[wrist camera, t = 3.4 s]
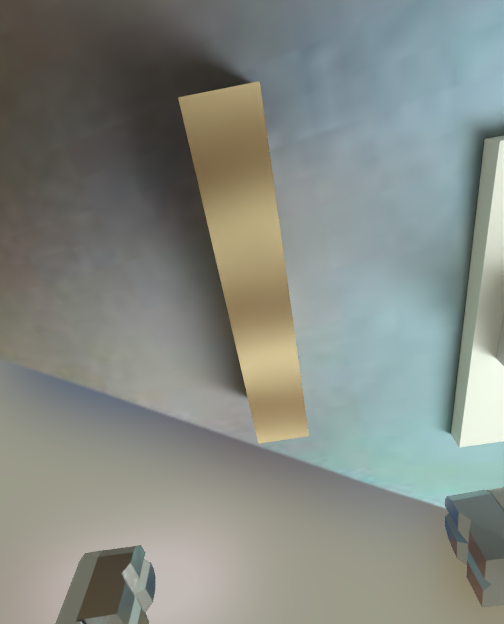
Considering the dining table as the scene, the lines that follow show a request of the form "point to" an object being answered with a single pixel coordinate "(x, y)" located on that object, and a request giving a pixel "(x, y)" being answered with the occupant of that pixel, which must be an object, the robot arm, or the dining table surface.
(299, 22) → the dining table surface
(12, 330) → the dining table surface
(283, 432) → the pine bar
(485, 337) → the fulcrum stand
